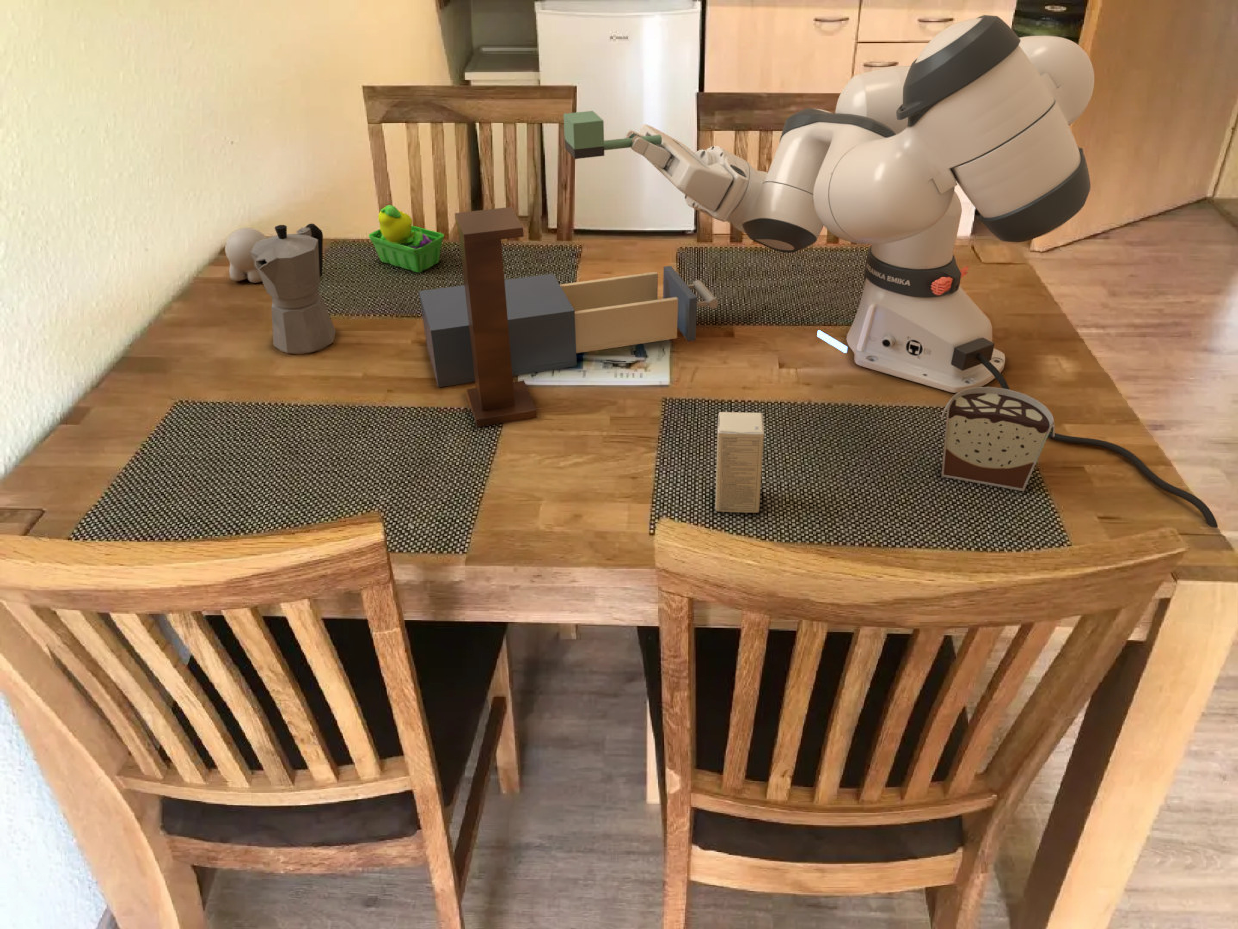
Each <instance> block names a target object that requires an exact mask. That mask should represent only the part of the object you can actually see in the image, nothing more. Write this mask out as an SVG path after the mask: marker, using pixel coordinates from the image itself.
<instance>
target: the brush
mask: <svg viewBox="0 0 1238 929" xmlns="http://www.w3.org/2000/svg"><path fill="white" fill-rule="evenodd" d="M562 115H563V134H564V149H565V150H566V152H568V154H569V155H570V156H571V157H572V158H573V159H574V160H577V159H580V160H581V159H588V158H597V157H605V151H609V150H612V151H613V150H619V149H621V150H622V149H629V148H630V149H631V147H630V143H631V141H632V139H633V138H624V137H623V138H616V139H605V124H604V119H602V118H601V117H600V116H599V115H598V114H597V113H596V112H595V111H593V110H587V111H577V112H567V113H563V114H562ZM641 138H643V139H645V140H646V141H648V142H650V143H652V144H654V145H658V144H661V143H662V138H661V135H653V136H643V137H641Z"/></svg>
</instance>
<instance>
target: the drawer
mask: <svg viewBox="0 0 1238 929" xmlns="http://www.w3.org/2000/svg"><path fill="white" fill-rule="evenodd" d="M662 275H663V279H662V280H663V282H662V283H663V284H662V298H660V299H659V298H658V297H659V296H658V293H659V291H658V290H659V289H658V288H659V273H658V272H657V271H652V272H651V271H649V272H644V273H636V274H635V273H634V274H628V275H621V276H613V277H605V278H598V279H590V280H582V281H575V282H569V283H568V282H567V283H559V284H560V286H561V288H562V290H563V291H564V293H565V295H566V296H567V298H568V300H569V302H570V303H571V305H572V307H573V309H574V310H575V333H576V354H580V353H587V352H593V351H601V350H607V349H615V348H621V347H627V346H634V345H640V344H647V343H653V342H661V341H668V340H674V339H678V330H679V332H680V333H681V334H682V336H683V337H684V339H686V341H687V342H693V341H696V338H697V336H696V335H697V316H698V314H697V313H698V312H697V311H698V308H701V307H709V309H716V308H717V307H718V305H719V300H718V299H717V298H716V297H715V296H714V294H713V293H712V292H711V291H710V290H709V288H707V286H706V285H705V284H704V283H703V281H701V280H700V279H696V280H694V281H693V282H692V283H691V284H687V283H686V282H685V281H684V279H683V278H682V277H681V276H680V275H679V273H677V271H676V270H675V268H674V267H673V266H672V265H666V266H663V274H662ZM693 290H695V292H697V294H698V295H699V296H700V297H701V298H702V300H700V301H698V297H697V295H696V294H695V292H693Z"/></svg>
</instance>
